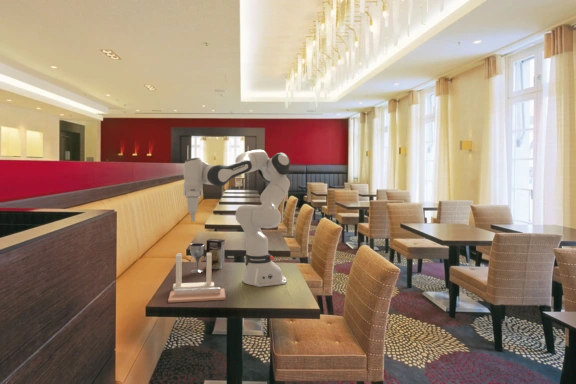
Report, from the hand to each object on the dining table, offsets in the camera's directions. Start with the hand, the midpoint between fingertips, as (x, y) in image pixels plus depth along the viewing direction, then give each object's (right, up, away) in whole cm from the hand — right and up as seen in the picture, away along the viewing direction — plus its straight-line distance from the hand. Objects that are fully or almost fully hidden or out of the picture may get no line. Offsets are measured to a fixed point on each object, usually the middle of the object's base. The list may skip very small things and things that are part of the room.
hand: (193, 220), depth 176 cm
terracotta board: (+6, -33, -13) cm, 36 cm away
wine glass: (-4, -31, +25) cm, 40 cm away
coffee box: (+4, -30, +34) cm, 46 cm away
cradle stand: (+1, -32, -1) cm, 32 cm away
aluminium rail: (+6, -32, -13) cm, 35 cm away
